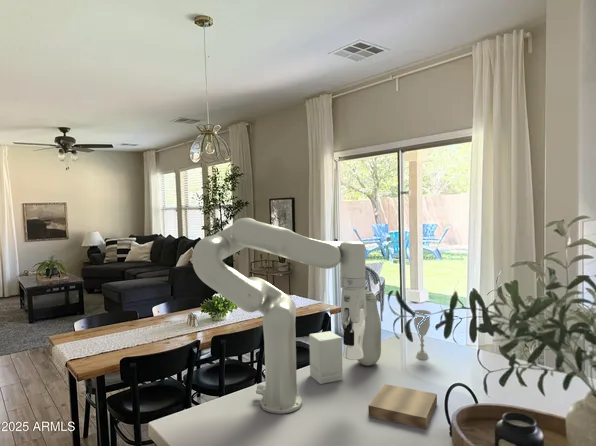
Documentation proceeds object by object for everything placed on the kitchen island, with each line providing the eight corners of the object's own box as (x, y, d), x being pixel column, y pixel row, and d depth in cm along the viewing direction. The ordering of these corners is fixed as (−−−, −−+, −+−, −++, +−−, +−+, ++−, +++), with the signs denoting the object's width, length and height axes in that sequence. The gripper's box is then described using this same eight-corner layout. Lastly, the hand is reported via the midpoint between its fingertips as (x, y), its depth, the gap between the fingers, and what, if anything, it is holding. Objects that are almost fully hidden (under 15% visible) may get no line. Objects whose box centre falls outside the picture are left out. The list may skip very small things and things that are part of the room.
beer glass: (364, 361, 120) (364, 310, 119) (340, 359, 121) (340, 309, 121) (365, 353, 126) (365, 305, 126) (342, 351, 128) (342, 304, 127)
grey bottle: (358, 357, 162) (357, 287, 161) (384, 361, 158) (383, 289, 157) (350, 366, 153) (349, 292, 152) (377, 371, 149) (376, 294, 148)
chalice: (410, 354, 164) (409, 310, 164) (425, 353, 166) (425, 309, 165) (418, 361, 157) (418, 315, 157) (434, 360, 158) (434, 313, 158)
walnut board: (368, 415, 117) (368, 405, 117) (384, 393, 131) (384, 383, 131) (426, 429, 109) (426, 418, 109) (436, 403, 123) (436, 393, 123)
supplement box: (343, 380, 142) (342, 337, 141) (320, 384, 138) (319, 341, 138) (331, 370, 150) (331, 330, 149) (309, 375, 147) (308, 333, 146)
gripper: (354, 288, 114) (354, 352, 114) (374, 279, 129) (374, 335, 129) (329, 286, 117) (330, 348, 118) (351, 277, 132) (352, 332, 133)
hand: (353, 341), depth 124 cm, fingers closed on beer glass, 6 cm apart
